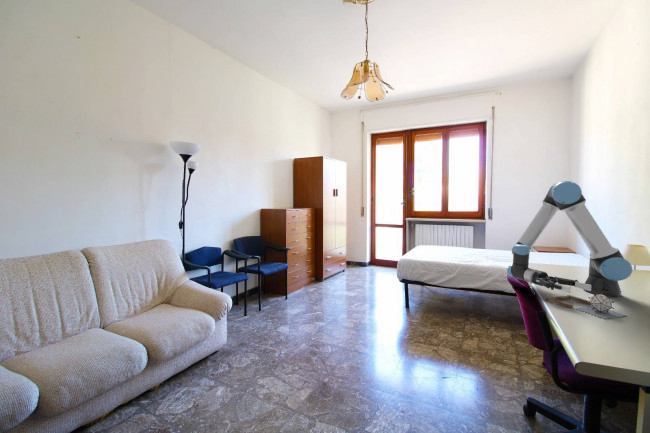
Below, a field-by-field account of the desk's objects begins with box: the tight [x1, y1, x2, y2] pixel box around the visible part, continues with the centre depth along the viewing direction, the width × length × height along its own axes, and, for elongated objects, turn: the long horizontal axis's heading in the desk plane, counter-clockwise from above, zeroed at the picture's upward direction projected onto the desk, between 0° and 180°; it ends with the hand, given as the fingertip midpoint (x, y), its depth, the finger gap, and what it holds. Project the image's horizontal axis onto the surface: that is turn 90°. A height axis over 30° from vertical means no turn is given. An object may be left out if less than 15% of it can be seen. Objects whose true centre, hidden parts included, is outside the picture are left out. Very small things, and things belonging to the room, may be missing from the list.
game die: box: [588, 292, 615, 313], centre depth 132 cm, size 9×8×10 cm
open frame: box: [545, 294, 591, 309], centre depth 145 cm, size 16×11×2 cm
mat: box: [573, 305, 628, 320], centre depth 133 cm, size 14×12×1 cm
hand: (580, 289), depth 140 cm, fingers open, 13 cm apart
